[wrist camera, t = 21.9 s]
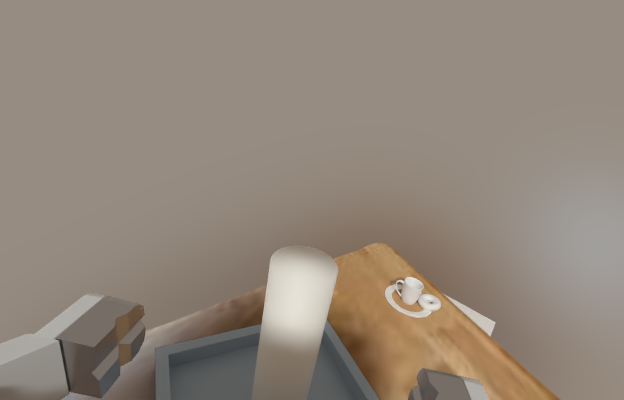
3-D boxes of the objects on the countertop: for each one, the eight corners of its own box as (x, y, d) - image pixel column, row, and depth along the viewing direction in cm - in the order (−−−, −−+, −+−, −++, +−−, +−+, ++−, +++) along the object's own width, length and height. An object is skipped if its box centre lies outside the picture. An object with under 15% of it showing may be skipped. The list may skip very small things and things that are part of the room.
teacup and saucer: (442, 307, 51) (450, 288, 49) (425, 330, 45) (434, 310, 43) (396, 281, 56) (402, 263, 54) (375, 299, 50) (382, 279, 48)
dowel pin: (310, 420, 29) (351, 268, 22) (273, 464, 25) (307, 297, 18) (275, 384, 32) (302, 239, 25) (237, 419, 28) (255, 259, 21)
